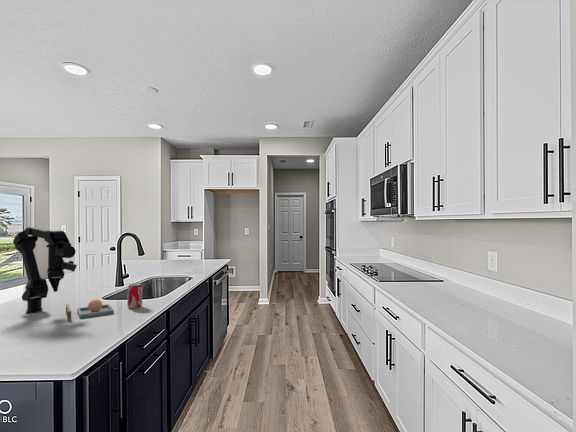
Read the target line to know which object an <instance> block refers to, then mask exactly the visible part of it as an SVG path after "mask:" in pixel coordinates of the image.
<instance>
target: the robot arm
mask: <svg viewBox="0 0 576 432" xmlns="http://www.w3.org/2000/svg"><path fill="white" fill-rule="evenodd" d="M39 238H40V239H43V240H44V241H45V242H46V243H47V245H46V246H45V247H46V248H48V249H47V250H48V251H47V252H48V254H47V258H48V259H47V262H48V265H47V266H48V267H47V269H46V272H47V279H48V281H49V284H50V285H51V288H52V290H53V292H54V293H55V292H58V290H59V286H60V281H62V280H63V279H64V277H65V270H67V271H71V272H75V271H76V269H77V267H78V265H77V264H76V263H74V260H73V261H72V260H69V261H67V262H66V261H65V259H71V258H73V257H75V255H76V251H77V250H76V248H75V247H74V246H73V245H72V243H71V241H70V240H69V238H68V236H67V233H66V232H65V231H64V230H49V229H44V228H41V227H38V226H28V227H26V228H25V229H24V230H23V231H21V232H19V233H17V234H16V236H14V237H13V241H12V242H13V245H14V246H15V249H16V250H17V251H18V252H19V253H20V254H21V257H22V261H23V265H24V268H25V269H24V270H25V273H26V278H27V282H26V285H25V291H24V292H23V293H22V295H21V298H22V301H23V302H26V303H27V305H26V308H27V309H26V311H25V314H26V315H27V314H34V313H42V312H44V311H43V306H42V305H43V304H42V303H43V302H42V301H43V299H45V298H47V296H48V293H49V286H48V282H47V279H46V278H42V277H41V275H40V271H39V267H38V263H37V260H36V256H35V251H34V250H35V248H36V246H37V245H36V244H37V241H39Z"/></svg>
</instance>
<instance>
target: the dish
mask: <svg viewBox="0 0 576 432" xmlns="http://www.w3.org/2000/svg"><path fill="white" fill-rule="evenodd" d="M76 313H77V316H78V318H79V319H80V320H81V319H88V318H94V317H95V318H96V317H102V316H108V315H114V313H115V310H114V309H113V307H112V306H111V305H110V303H109V304H102V308H101V309H100V310H99V311H97V312H92V311H90V310H89V308H88V306H85V307H78V308H76Z"/></svg>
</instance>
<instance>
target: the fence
mask: <svg viewBox="0 0 576 432" xmlns="http://www.w3.org/2000/svg"><path fill="white" fill-rule="evenodd" d="M65 314H66V318H67V322H69V321H72V309H71V307H70V304H65Z"/></svg>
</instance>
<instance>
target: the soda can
mask: <svg viewBox="0 0 576 432" xmlns="http://www.w3.org/2000/svg"><path fill="white" fill-rule="evenodd" d="M126 294H127V307H128V308H129V309H131V308H135V309H140V308H141V307H142V306H143V286H142V283H139V282H137V283H135V282H134V283H129V284H128V286H127V293H126Z"/></svg>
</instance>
